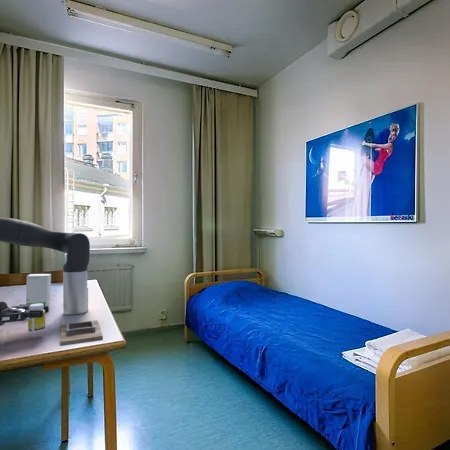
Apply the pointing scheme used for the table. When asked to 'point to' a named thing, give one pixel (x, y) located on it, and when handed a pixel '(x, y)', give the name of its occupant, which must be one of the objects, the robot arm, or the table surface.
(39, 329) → the supplement bottle
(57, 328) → the table surface
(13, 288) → the table surface
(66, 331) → the seat board
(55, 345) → the table surface
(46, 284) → the skincare box
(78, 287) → the robot arm
